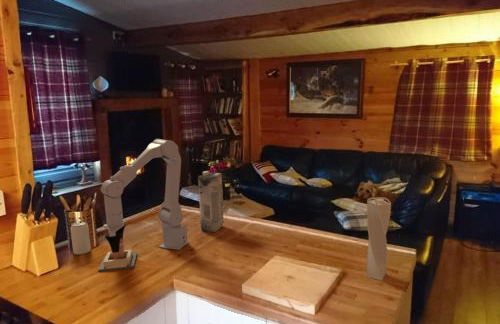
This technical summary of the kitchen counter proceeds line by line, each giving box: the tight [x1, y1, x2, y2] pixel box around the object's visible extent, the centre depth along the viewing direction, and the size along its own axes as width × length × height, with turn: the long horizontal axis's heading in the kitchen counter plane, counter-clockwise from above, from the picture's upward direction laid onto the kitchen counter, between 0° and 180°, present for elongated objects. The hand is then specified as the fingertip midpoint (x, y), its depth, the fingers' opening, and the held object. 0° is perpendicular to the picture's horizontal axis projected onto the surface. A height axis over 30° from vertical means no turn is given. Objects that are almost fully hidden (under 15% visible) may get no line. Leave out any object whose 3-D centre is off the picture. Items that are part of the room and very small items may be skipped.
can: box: [70, 220, 91, 256], centre depth 147 cm, size 6×6×12 cm
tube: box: [110, 238, 125, 260], centre depth 137 cm, size 4×4×8 cm
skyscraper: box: [365, 196, 392, 282], centre depth 120 cm, size 8×8×28 cm
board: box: [98, 249, 138, 272], centre depth 137 cm, size 12×12×3 cm
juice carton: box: [197, 170, 224, 233], centre depth 168 cm, size 9×10×27 cm
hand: (117, 247), depth 136 cm, fingers open, 7 cm apart
